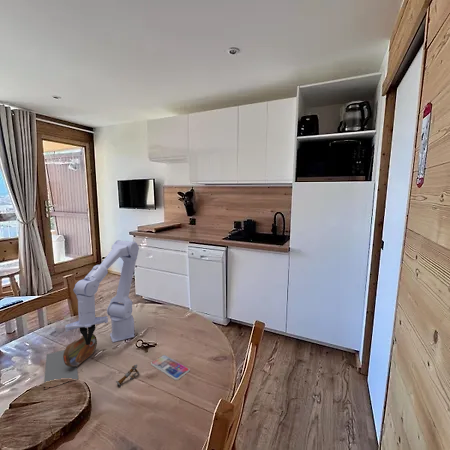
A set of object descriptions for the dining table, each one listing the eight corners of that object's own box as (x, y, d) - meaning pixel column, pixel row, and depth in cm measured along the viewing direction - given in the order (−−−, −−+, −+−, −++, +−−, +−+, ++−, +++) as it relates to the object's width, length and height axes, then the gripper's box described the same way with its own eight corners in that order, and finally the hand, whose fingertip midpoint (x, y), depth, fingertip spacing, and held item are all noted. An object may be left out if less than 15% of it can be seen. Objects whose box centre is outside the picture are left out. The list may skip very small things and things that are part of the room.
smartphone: (164, 353, 106) (191, 369, 97) (164, 356, 106) (191, 371, 97) (149, 362, 100) (176, 379, 91) (149, 365, 100) (176, 382, 91)
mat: (75, 347, 110) (75, 347, 109) (78, 379, 91) (78, 378, 91) (46, 355, 104) (46, 354, 104) (43, 390, 86) (43, 389, 86)
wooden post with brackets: (142, 372, 94) (137, 364, 92) (123, 391, 89) (118, 383, 87) (139, 370, 95) (134, 362, 94) (120, 389, 90) (115, 381, 88)
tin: (70, 371, 94) (67, 348, 93) (63, 371, 94) (59, 349, 94) (98, 349, 108) (95, 329, 108) (92, 349, 109) (89, 329, 109)
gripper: (64, 319, 93) (66, 354, 94) (108, 310, 101) (109, 343, 102) (64, 311, 99) (66, 344, 100) (106, 303, 107) (106, 334, 108)
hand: (88, 343), depth 102 cm, fingers closed
